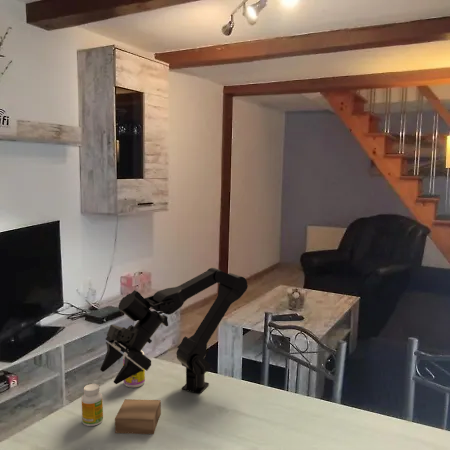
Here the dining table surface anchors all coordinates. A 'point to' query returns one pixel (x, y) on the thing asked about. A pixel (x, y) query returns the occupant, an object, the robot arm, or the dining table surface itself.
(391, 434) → the dining table surface
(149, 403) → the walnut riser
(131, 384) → the supplement bottle
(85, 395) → the supplement bottle
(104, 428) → the dining table surface
